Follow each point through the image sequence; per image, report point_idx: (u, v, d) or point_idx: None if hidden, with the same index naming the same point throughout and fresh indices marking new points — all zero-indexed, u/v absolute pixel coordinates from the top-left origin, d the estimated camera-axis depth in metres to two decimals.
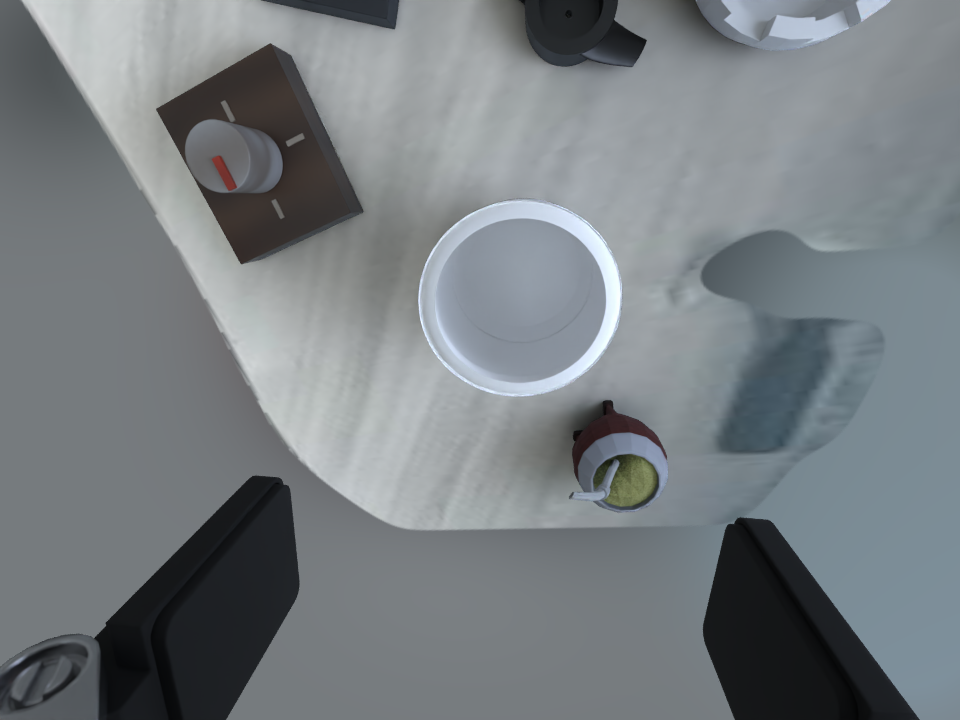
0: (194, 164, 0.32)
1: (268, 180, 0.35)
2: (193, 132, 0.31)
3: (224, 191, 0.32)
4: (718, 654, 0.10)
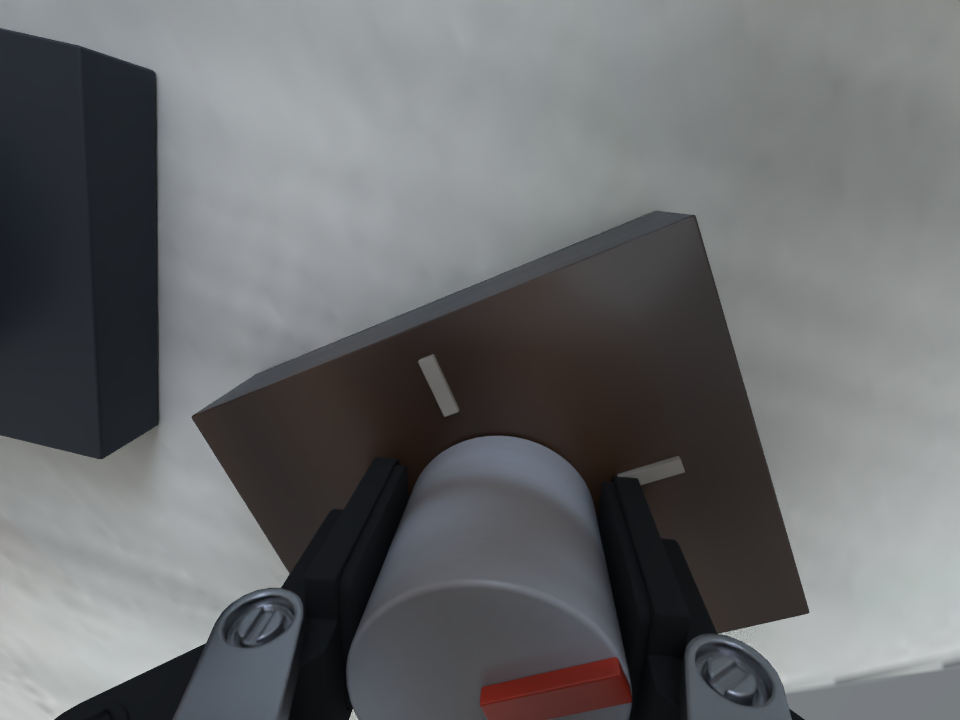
0: None
1: (566, 495, 0.10)
2: None
3: (627, 705, 0.07)
4: None
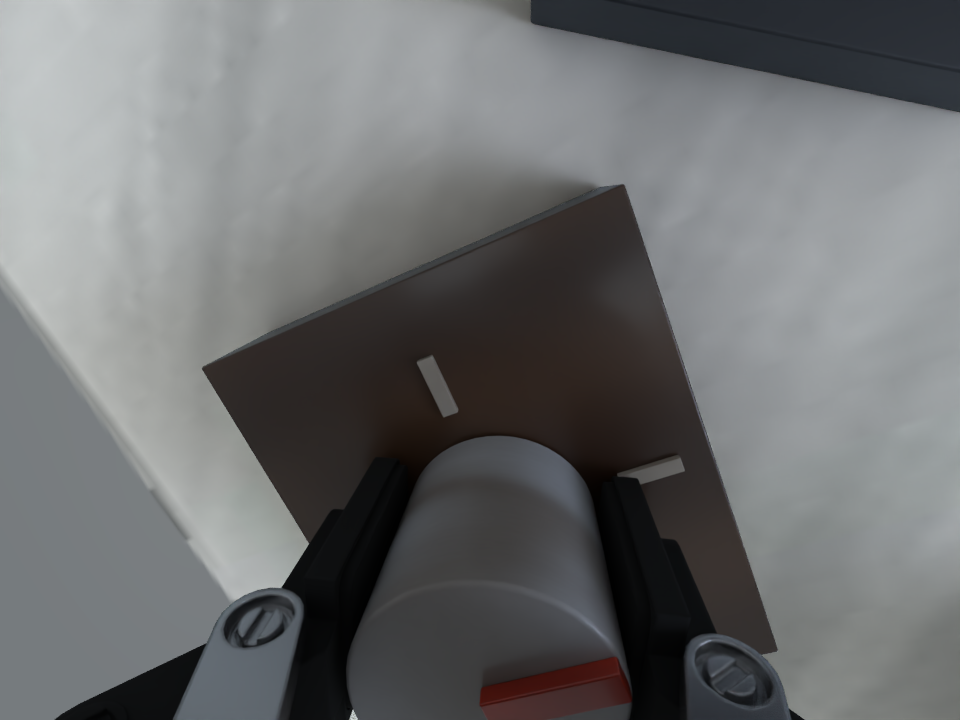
0: None
1: (566, 495, 0.10)
2: None
3: (627, 705, 0.07)
4: None
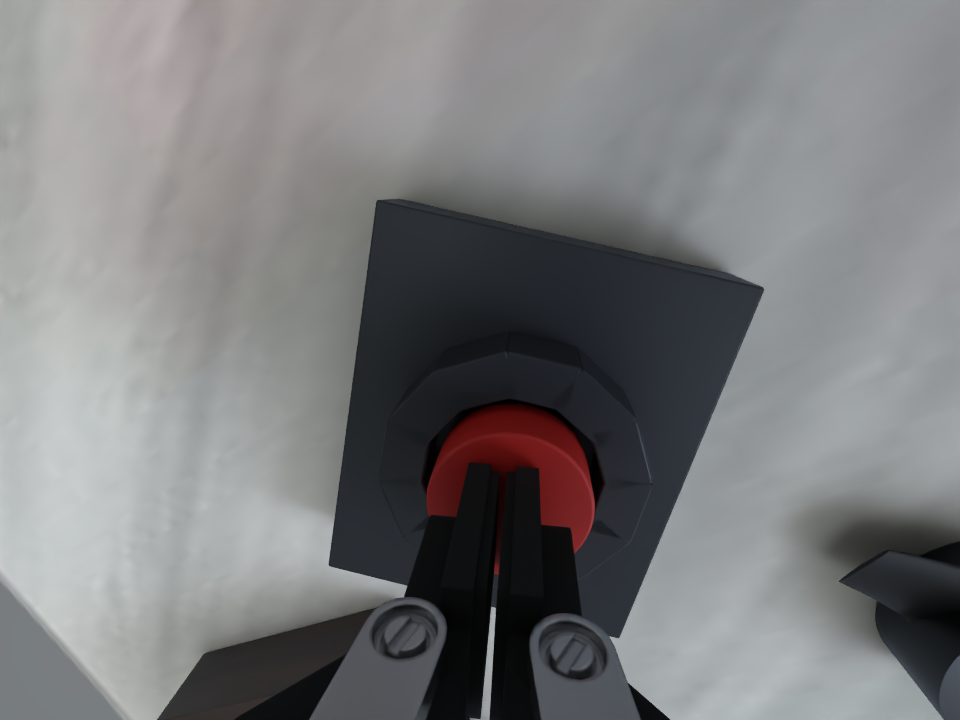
0: None
1: None
2: None
3: None
4: None
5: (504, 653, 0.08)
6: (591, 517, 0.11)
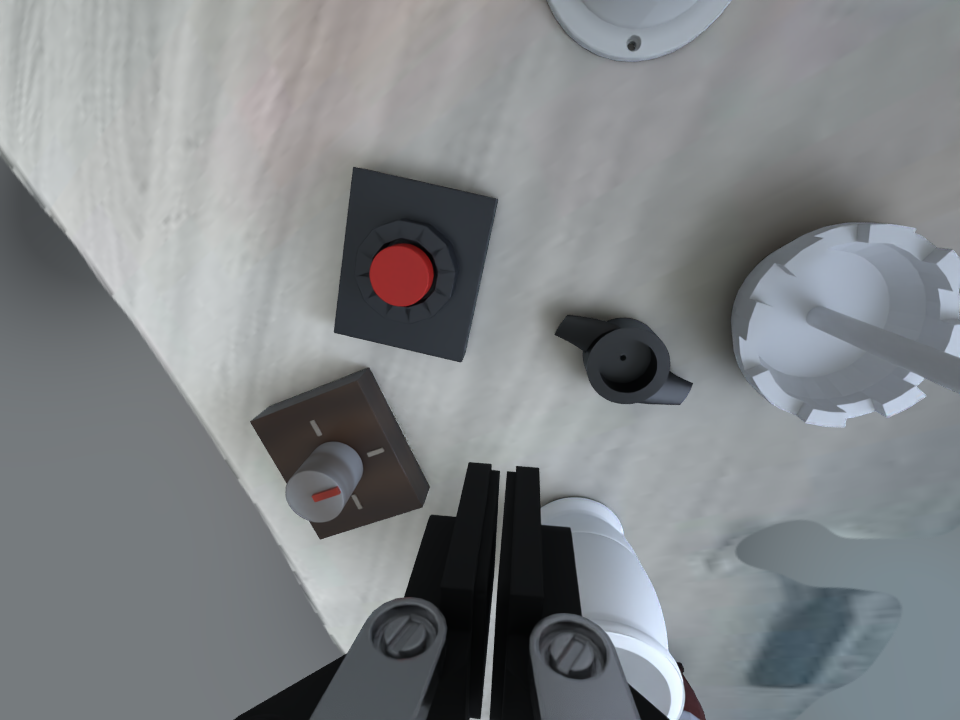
0: (322, 516, 0.36)
1: (344, 457, 0.38)
2: (297, 511, 0.36)
3: (342, 497, 0.35)
4: None
5: (504, 653, 0.08)
6: (427, 278, 0.32)
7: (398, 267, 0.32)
